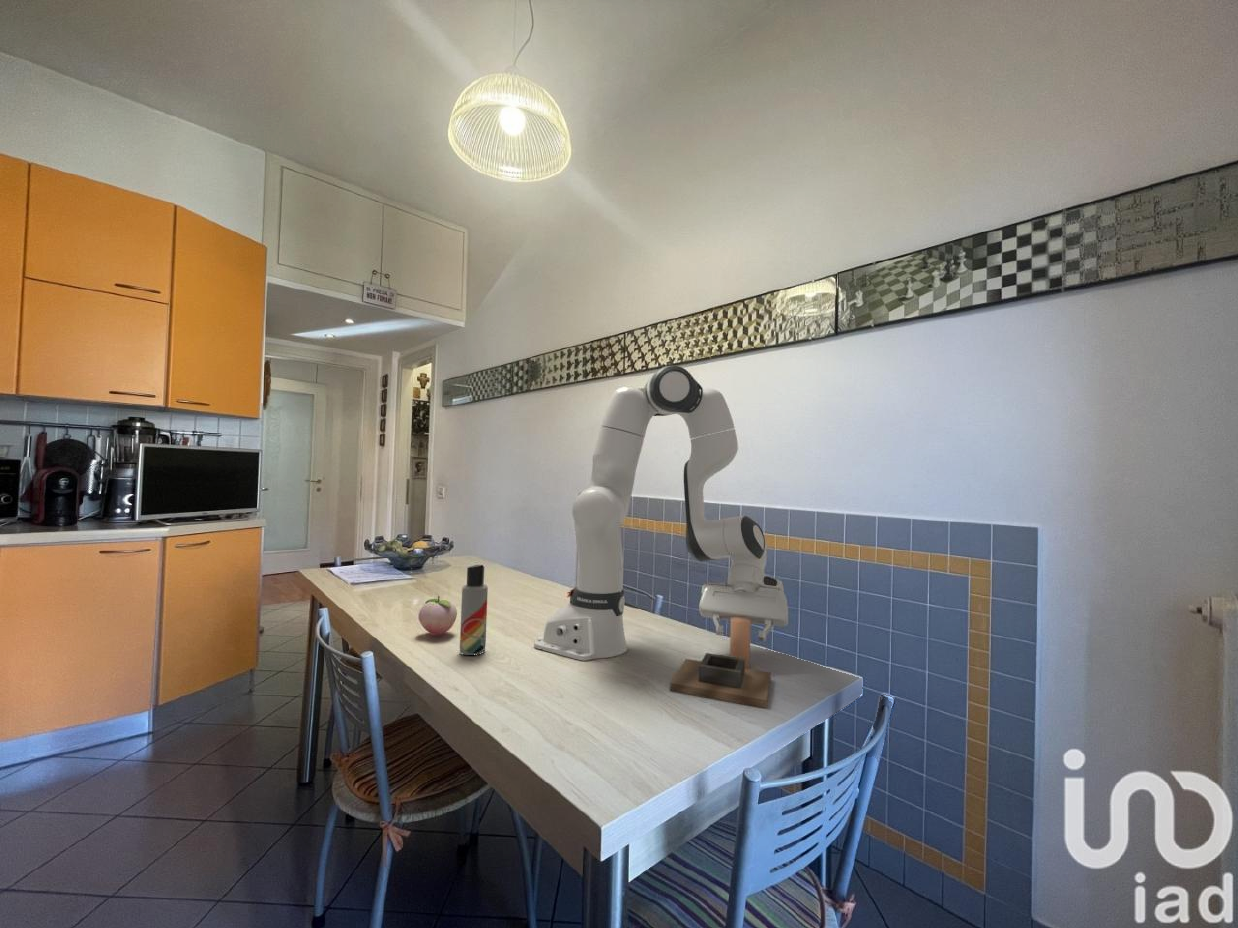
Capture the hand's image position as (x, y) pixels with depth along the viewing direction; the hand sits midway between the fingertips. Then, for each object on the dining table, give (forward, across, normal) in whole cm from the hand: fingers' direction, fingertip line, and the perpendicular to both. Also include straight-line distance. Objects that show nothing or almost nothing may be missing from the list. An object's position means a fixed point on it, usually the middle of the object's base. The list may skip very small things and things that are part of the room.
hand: (740, 637), depth 110 cm
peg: (+4, 0, +5) cm, 6 cm away
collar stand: (+13, -2, -5) cm, 14 cm away
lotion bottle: (+18, -58, -9) cm, 61 cm away
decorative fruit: (+13, -73, -4) cm, 74 cm away
